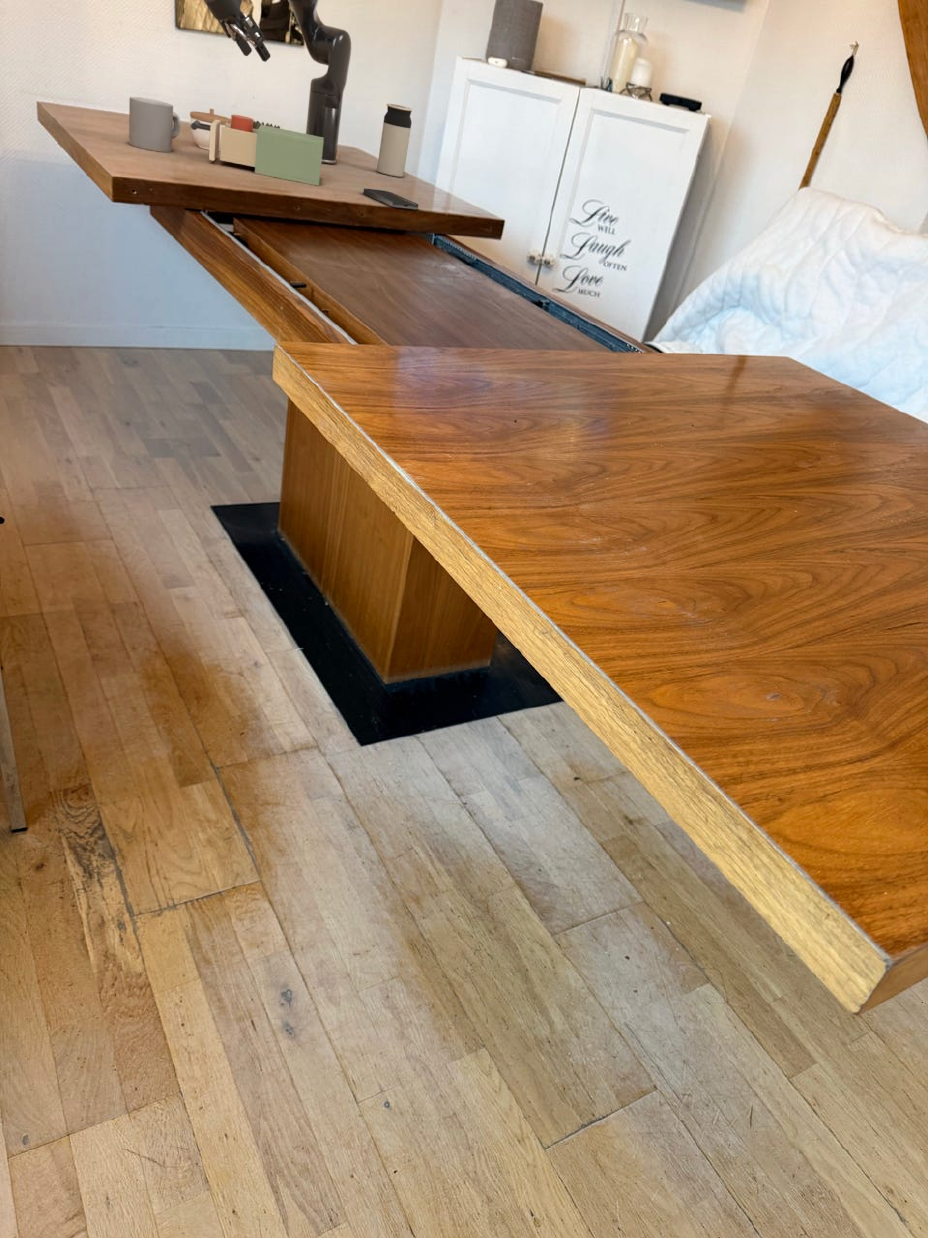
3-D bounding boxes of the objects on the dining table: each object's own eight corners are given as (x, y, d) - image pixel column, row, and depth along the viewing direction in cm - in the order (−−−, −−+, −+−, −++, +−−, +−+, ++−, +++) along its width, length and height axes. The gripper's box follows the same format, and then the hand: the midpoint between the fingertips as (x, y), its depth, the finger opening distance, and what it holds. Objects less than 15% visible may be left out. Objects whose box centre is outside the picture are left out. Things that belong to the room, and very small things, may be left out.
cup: (274, 159, 249) (277, 127, 245) (247, 153, 249) (249, 121, 244) (279, 157, 256) (282, 125, 251) (253, 151, 255) (255, 119, 251)
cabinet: (254, 173, 224) (257, 129, 219) (257, 166, 234) (260, 124, 229) (318, 185, 227) (323, 142, 222) (319, 178, 237) (323, 137, 232)
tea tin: (227, 153, 228) (229, 113, 223) (248, 157, 230) (251, 117, 225) (231, 157, 224) (233, 116, 219) (252, 160, 226) (255, 120, 221)
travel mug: (378, 173, 268) (388, 104, 258) (375, 169, 274) (384, 101, 265) (405, 178, 270) (415, 110, 260) (401, 174, 276) (411, 107, 267)
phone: (388, 190, 234) (420, 204, 225) (387, 195, 235) (419, 209, 225) (361, 187, 229) (393, 201, 220) (361, 192, 230) (392, 206, 221)
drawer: (188, 155, 220) (189, 119, 216) (194, 149, 230) (195, 115, 226) (269, 171, 224) (272, 136, 220) (272, 165, 234) (275, 131, 230)
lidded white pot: (235, 151, 248) (238, 112, 243) (223, 154, 239) (225, 114, 234) (197, 142, 248) (198, 103, 243) (182, 145, 239) (184, 104, 234)
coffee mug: (141, 149, 220) (142, 102, 215) (121, 140, 225) (122, 94, 220) (192, 154, 229) (193, 109, 223) (171, 145, 234) (173, 101, 229)
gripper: (244, -20, 200) (284, 49, 214) (212, -27, 209) (253, 40, 222) (220, 4, 200) (262, 72, 213) (189, -4, 208) (232, 62, 221)
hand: (257, 56), depth 217 cm, fingers open, 8 cm apart
